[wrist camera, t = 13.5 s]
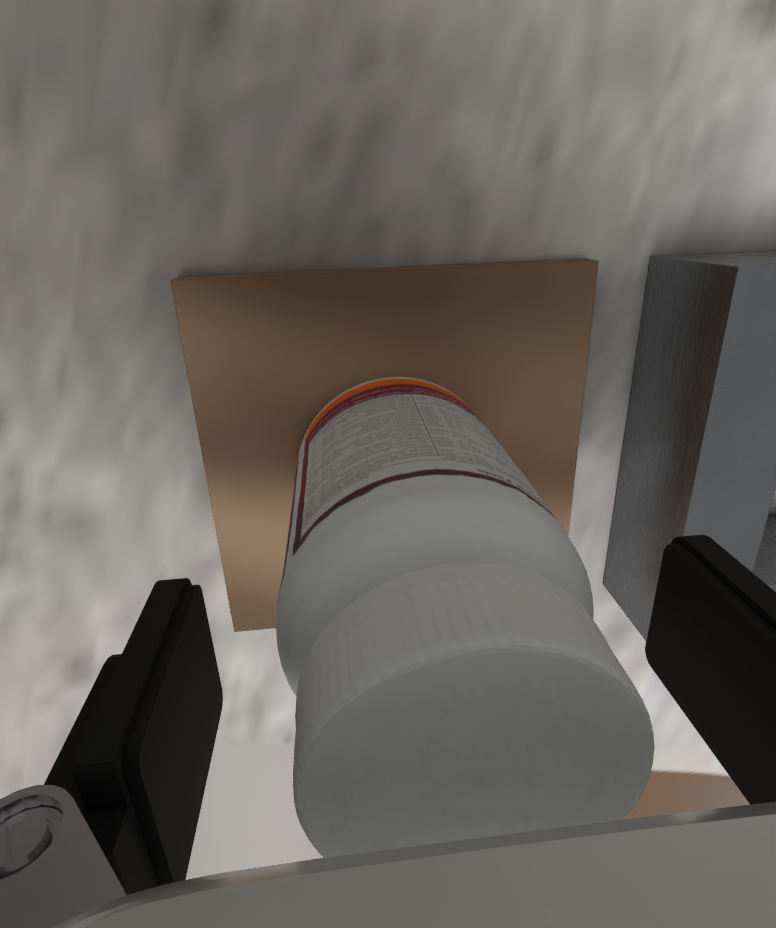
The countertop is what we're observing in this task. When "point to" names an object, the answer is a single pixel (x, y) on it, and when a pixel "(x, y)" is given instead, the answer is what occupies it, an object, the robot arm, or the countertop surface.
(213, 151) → the countertop surface
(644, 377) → the metal collar
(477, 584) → the pill bottle
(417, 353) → the brown pad
